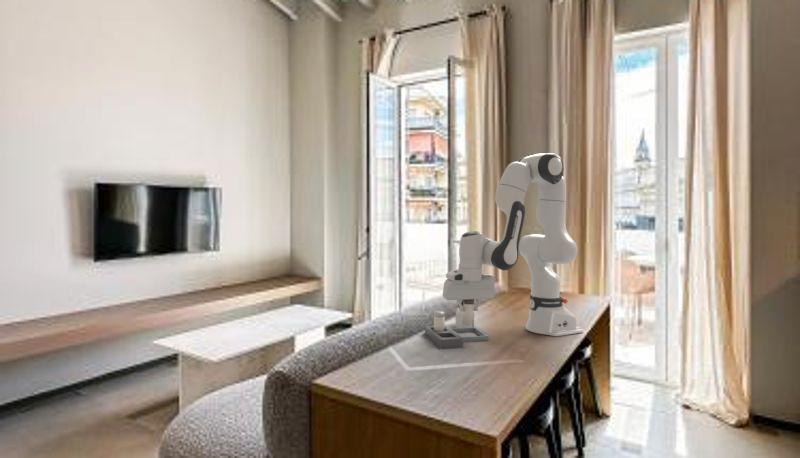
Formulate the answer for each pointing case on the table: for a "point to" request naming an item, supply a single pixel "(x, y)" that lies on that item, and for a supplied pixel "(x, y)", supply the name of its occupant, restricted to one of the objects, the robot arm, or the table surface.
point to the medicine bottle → (461, 319)
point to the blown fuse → (468, 312)
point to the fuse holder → (443, 338)
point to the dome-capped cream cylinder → (439, 320)
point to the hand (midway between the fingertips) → (468, 310)
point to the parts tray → (471, 338)
